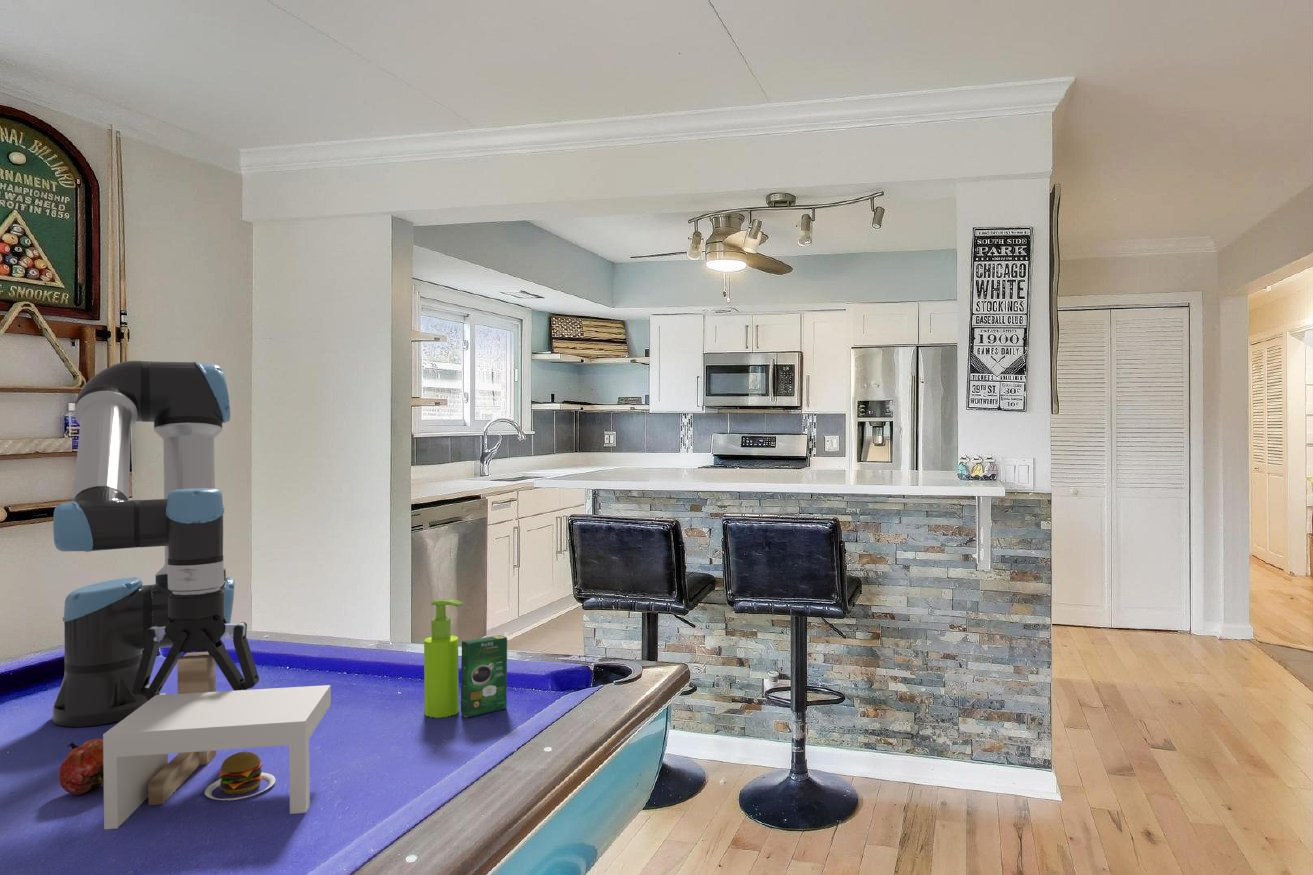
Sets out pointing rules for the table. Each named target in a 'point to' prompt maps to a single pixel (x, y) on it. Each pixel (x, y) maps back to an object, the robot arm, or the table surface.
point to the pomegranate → (83, 767)
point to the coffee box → (483, 675)
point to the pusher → (192, 678)
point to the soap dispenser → (441, 665)
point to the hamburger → (240, 775)
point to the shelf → (208, 738)
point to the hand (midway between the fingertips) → (197, 736)
